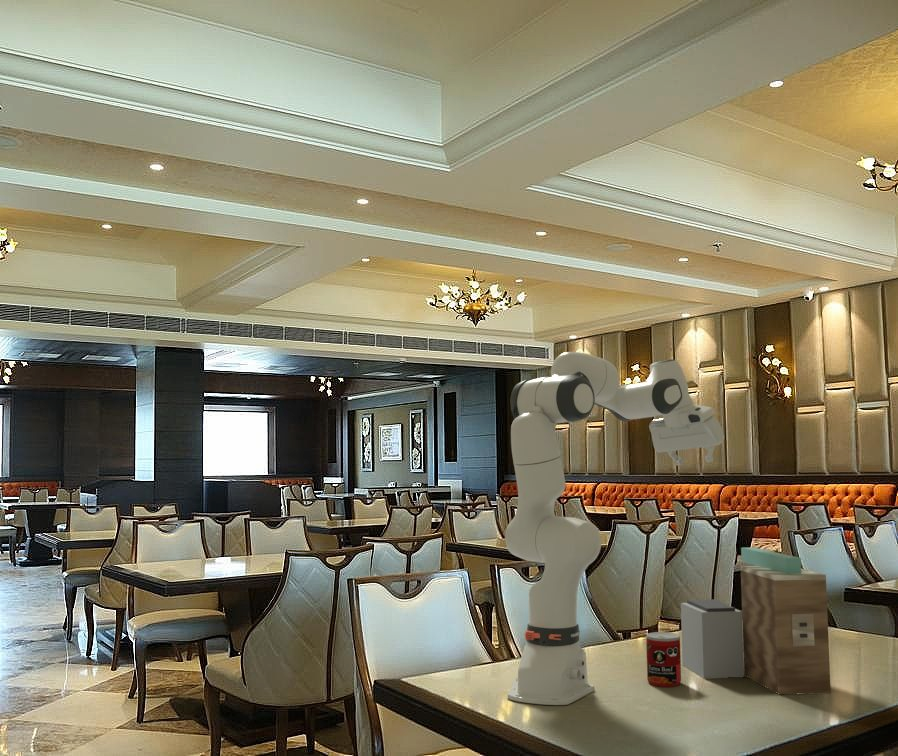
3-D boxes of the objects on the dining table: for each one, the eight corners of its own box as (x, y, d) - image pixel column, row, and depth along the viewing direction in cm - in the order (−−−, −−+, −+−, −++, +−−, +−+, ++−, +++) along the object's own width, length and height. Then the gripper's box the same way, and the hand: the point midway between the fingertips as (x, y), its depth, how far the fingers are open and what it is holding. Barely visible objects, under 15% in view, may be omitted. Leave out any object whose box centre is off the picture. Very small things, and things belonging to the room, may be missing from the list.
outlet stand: (744, 675, 215) (740, 566, 217) (791, 673, 216) (787, 565, 218) (780, 695, 197) (776, 576, 199) (832, 693, 198) (827, 575, 200)
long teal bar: (741, 561, 226) (741, 547, 227) (754, 561, 227) (754, 547, 227) (786, 573, 203) (786, 558, 203) (801, 573, 203) (800, 558, 203)
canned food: (643, 685, 206) (642, 636, 207) (652, 677, 213) (651, 630, 214) (676, 689, 203) (675, 639, 204) (684, 681, 210) (683, 633, 211)
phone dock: (682, 665, 226) (680, 599, 227) (720, 664, 227) (718, 598, 228) (703, 678, 212) (701, 609, 213) (744, 677, 213) (741, 608, 214)
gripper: (641, 424, 248) (656, 470, 249) (708, 414, 233) (723, 463, 235) (652, 417, 252) (667, 462, 253) (718, 407, 238) (733, 455, 239)
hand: (694, 463), depth 244 cm, fingers open, 8 cm apart
